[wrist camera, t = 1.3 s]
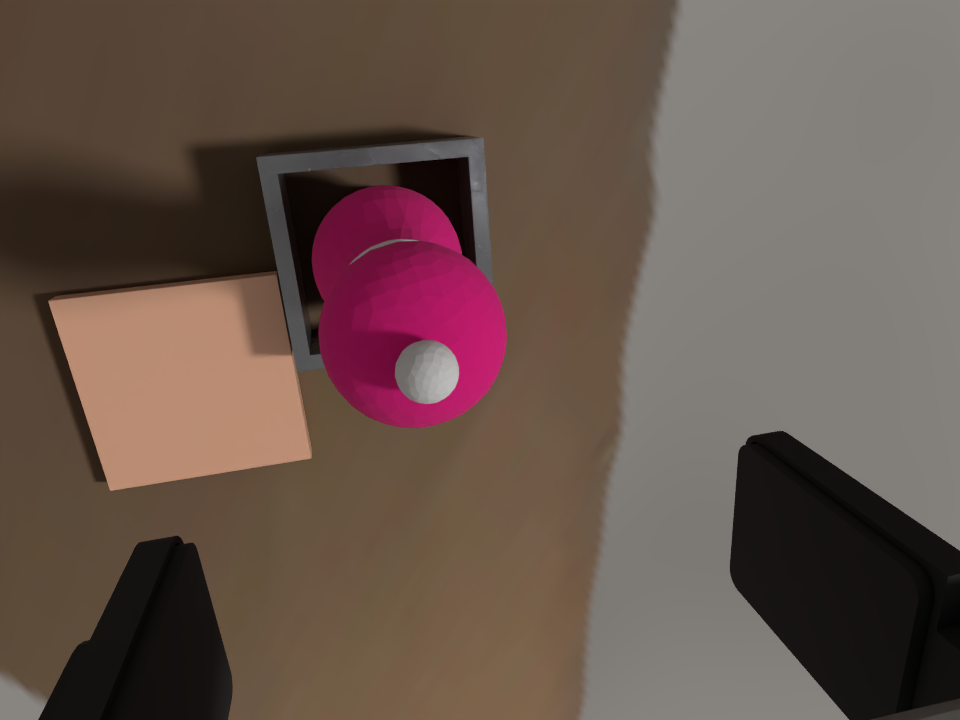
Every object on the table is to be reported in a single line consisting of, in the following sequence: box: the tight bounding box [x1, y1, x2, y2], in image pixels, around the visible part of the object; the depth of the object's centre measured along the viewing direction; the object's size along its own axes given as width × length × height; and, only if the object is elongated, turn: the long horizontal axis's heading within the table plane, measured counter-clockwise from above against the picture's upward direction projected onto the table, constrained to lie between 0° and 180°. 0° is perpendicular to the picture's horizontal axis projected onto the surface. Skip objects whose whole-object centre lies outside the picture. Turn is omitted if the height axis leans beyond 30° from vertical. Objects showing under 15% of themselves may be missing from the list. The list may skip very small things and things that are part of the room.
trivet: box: [48, 271, 312, 491], centre depth 35 cm, size 11×11×1 cm
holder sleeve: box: [256, 136, 493, 372], centre depth 34 cm, size 11×11×4 cm
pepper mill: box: [312, 185, 507, 428], centre depth 26 cm, size 7×7×20 cm
